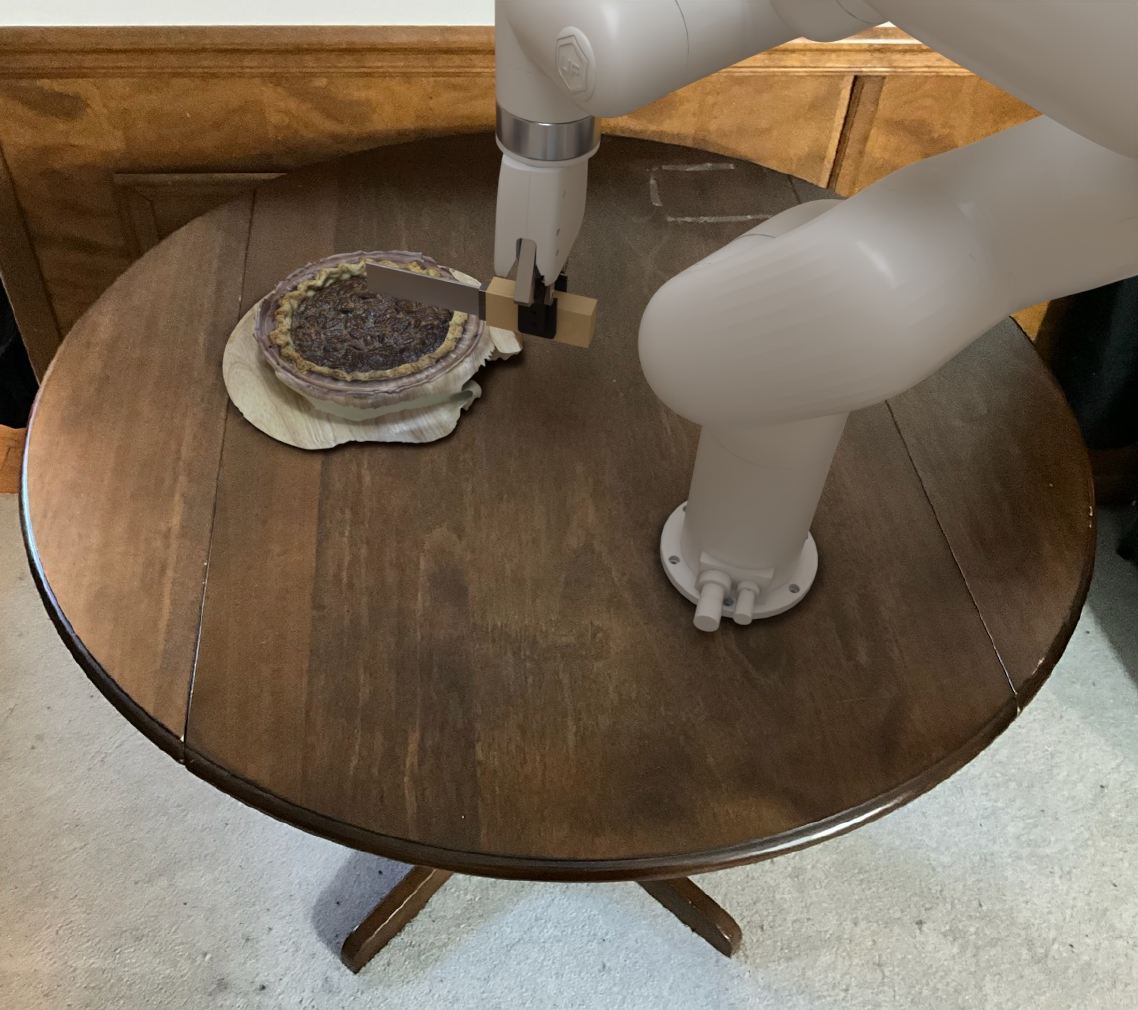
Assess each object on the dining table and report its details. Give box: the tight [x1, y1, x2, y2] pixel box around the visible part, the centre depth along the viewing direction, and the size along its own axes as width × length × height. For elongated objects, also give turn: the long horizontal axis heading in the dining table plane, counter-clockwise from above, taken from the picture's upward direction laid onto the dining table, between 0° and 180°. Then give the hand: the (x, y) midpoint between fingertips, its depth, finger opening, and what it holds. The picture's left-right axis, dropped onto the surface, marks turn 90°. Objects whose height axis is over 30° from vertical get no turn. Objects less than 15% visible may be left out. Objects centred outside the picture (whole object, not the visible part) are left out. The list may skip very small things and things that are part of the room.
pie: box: [222, 249, 524, 450], centre depth 97 cm, size 28×27×5 cm
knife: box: [365, 261, 598, 349], centre depth 88 cm, size 20×2×4 cm, turn 75°
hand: (541, 321), depth 88 cm, fingers closed on knife, 2 cm apart
